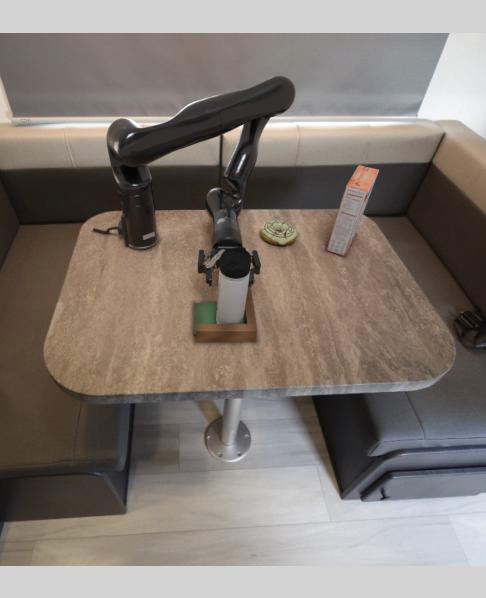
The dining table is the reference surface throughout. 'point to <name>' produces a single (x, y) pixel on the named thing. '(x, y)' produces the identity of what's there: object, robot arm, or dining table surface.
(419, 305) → the dining table surface
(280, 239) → the decorated donut
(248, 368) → the dining table surface
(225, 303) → the travel mug
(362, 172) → the cracker box
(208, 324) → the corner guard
